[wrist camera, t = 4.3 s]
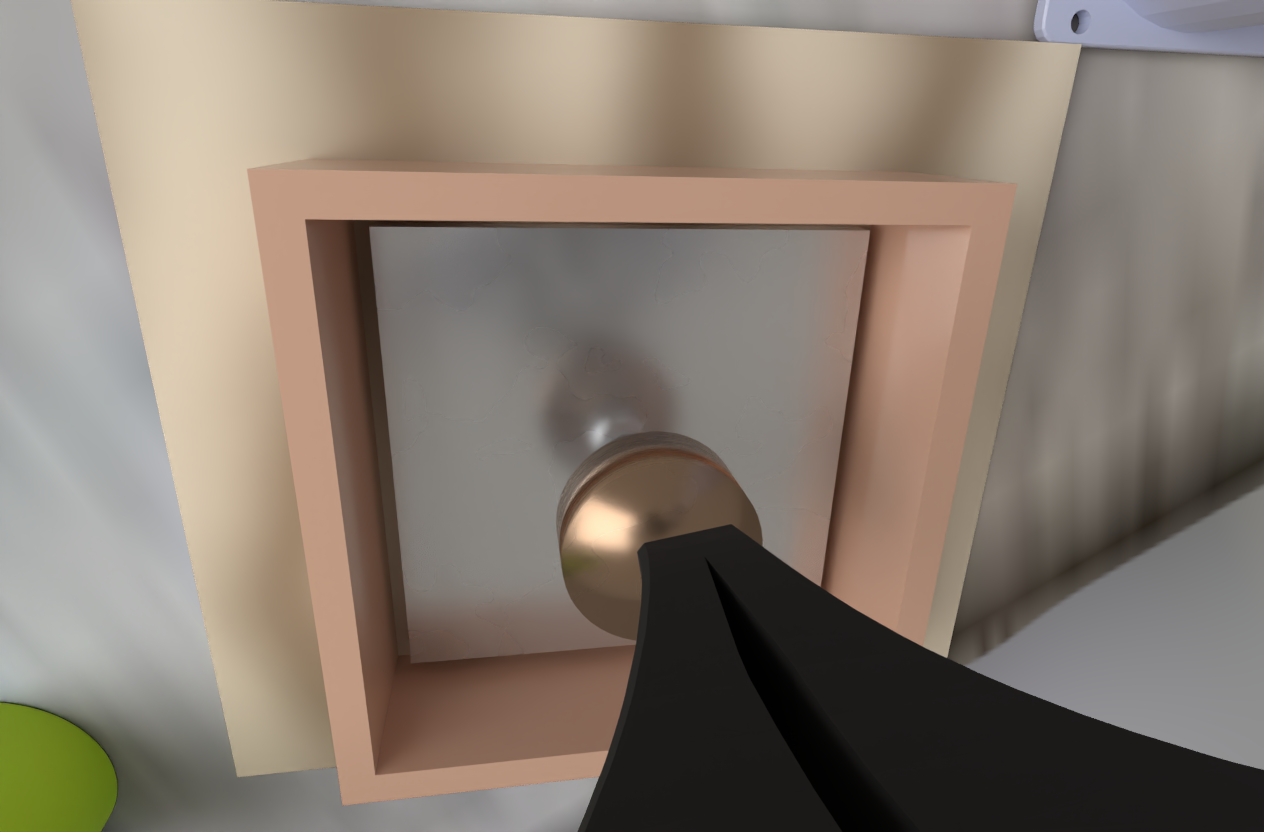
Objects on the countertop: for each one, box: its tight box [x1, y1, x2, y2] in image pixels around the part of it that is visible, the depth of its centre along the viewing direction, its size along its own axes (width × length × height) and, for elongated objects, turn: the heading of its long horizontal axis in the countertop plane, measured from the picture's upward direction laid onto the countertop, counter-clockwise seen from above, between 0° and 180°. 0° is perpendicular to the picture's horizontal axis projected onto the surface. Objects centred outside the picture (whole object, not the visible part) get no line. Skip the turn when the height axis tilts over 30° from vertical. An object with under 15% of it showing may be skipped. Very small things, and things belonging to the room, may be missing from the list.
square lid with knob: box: [369, 222, 870, 664], centre depth 17 cm, size 11×11×5 cm
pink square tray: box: [247, 159, 1017, 806], centre depth 18 cm, size 14×14×4 cm
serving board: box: [71, 0, 1082, 777], centre depth 20 cm, size 22×20×1 cm
